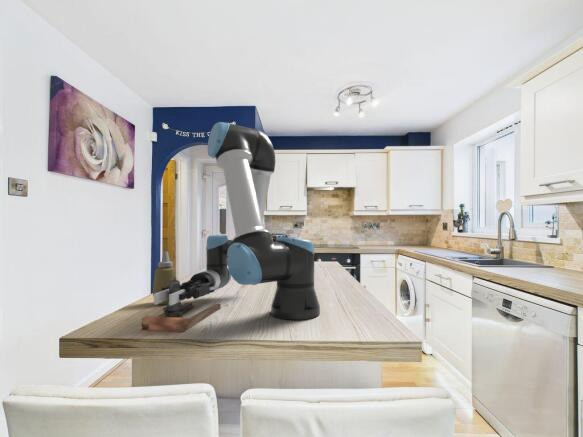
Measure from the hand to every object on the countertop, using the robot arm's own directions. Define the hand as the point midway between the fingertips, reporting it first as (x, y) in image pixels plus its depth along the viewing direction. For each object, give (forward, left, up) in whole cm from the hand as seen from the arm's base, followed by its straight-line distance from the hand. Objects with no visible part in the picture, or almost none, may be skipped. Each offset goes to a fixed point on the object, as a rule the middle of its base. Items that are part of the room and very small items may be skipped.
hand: (162, 299), depth 78 cm
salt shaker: (0, -5, -7) cm, 9 cm away
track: (0, -11, -8) cm, 14 cm away
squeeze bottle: (+16, -26, -8) cm, 32 cm away
